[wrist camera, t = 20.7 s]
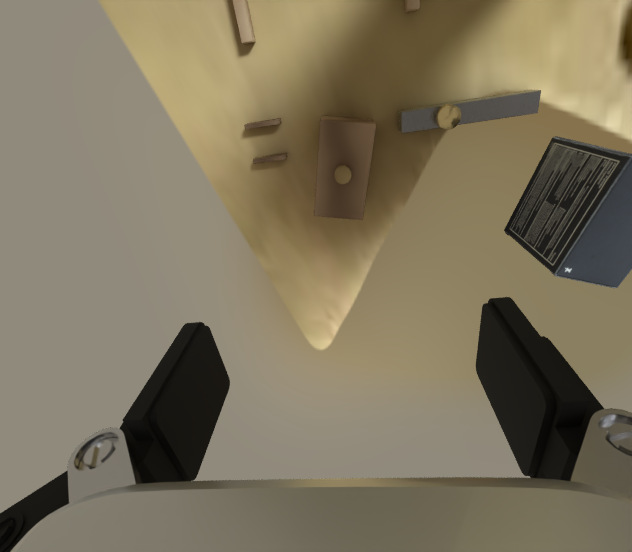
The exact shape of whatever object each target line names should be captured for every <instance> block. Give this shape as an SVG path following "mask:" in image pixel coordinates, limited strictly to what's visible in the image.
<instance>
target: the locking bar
mask: <svg viewBox="0 0 632 552" xmlns="http://www.w3.org/2000/svg"><path fill="white" fill-rule="evenodd" d="M540 94H541V90H526V91H520V92H513V93H507V94H501V95H494V96H488V97H482V98H475V99H469V100H463V101H457V102H450V103H444V104H438V105H431V106H425V107H419V108H412V109H406V110H400V111H398V112H399V131H400V132H401V133H407V132H413V131H420V130H427V129H433V128H440V127H441V128H443V129H446V130H449V129H452V128H454V127H456V126H457V125H460V124H467V123H474V122H480V121H487V120H494V119H500V118H507V117H514V116H521V115H527V114H533V113H538V107H539V100H540Z"/></svg>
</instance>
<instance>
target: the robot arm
mask: <svg viewBox="0 0 632 552" xmlns="http://www.w3.org/2000/svg"><path fill="white" fill-rule="evenodd" d="M476 371H477V374H478V377H479V379H480V381H481V384H482V385H483V388H484V390H485V392H486V395H487V397H488V399H489V401H490V403H491V406H492V408H493V410H494V412H495V414H496V416H497V419H498V421H499V423H500V425H501V428H502V430H503V432H504V434H505V436H506V439H507V441H508V443H509V445H510V447H511V450H512V452H513V454H514V456H515V458H516V461H517V463H518V465H519V467H520V469H521V471H522V473H523V474H524V475H525V476H530V477H531V478H492V477H437V478H436V477H435V478H347V479H346V478H341V479H272V480H222V481H193V480H194V479H195V478H196V476H197V474H198V472H199V469H200V466H201V463H202V461H203V458H204V455H205V453H206V450H207V447H208V444H209V442H210V439H211V436H212V434H213V431H214V428H215V425H216V422H217V420H218V417H219V415H220V412H221V409H222V406H223V403H224V401H225V398H226V395H227V393H228V390H229V386H230V380H229V377H228V374H227V371H226V369H225V366H224V364H223V361H222V359H221V356H220V354H219V351H218V349H217V346H216V343H215V341H214V338H213V336H212V333H211V330H210V328H209V327H208V326H205V325H204V323H202V322H199V323H198V322H197V323H187V324H185V325H184V326H183V327H182V329H181V331H180V332H179V334H178V335H177V337H176V338H175V340H174V341H173V343H172V344H171V346H170V348H169V349H168V351H167V352H166V354H165V355H164V357H163V358H162V360H161V361H160V363H159V365H158V366H157V368H156V369H155V371H154V372H153V374H152V375H151V377H150V379H149V380H148V382H147V383H146V385H145V386H144V388H143V389H142V391H141V393H140V394H139V396H138V397H137V399H136V400H135V402H134V403H133V405H132V406H131V408H130V409H129V411H128V413H127V414H126V416H125V417H124V419H123V424H122V425H121V427H120V429H118V428H111V427H110V428H106V429H102V430H100V431H98V432H96V433H94V434H92V435H91V436H89V437H88V438H86V439H85V440H84V441H83V442H82V443H81V444H80V445H79V446H78V447H77V448H76V449H75V451H74V452H73V453H72V455H71V457H70V459H69V461H68V467H67V468H68V471H66V472H65V473H63V474H62V475H60V476H58V477H57V478H55V479H54V480H52V481H50V482H49V483H47V484H46V485H44V486H43V487H41V488H39V489H38V490H36V491H35V492H33V493H32V494H30V495H29V496H27V497H25V498H24V499H22V500H21V501H19V502H18V503H16V504H14V505H13V506H11V507H10V508H8V509H7V510H5V511H4V512H2V513H0V552H632V413H631V412H628V411H625V410H619V409H612V408H611V409H604V408H603V407H602V405H601V404H600V403H599V402H598V400H597V399H596V398H595V397H594V395H593V394H592V393H591V392H590V390H589V389H588V388H587V386H586V385H585V384H584V383H583V381H582V380H581V379H580V378H579V376H578V375H577V374H576V373H575V371H574V370H573V369H572V368H571V366H570V365H569V364H568V362H567V361H566V360H565V359H564V357H563V356H562V355H561V354H560V352H559V351H558V350H557V349H556V347H555V346H554V345H553V344H552V342H551V341H550V340H549V339H548V338H546V337H544V336H543V337H541V336H540V335H539V334H538V332H537V331H536V330H535V328H534V327H533V326H532V325H531V323H530V322H529V321H528V319H527V318H526V317H525V315H524V314H523V313H522V312H521V310H520V309H519V308H518V307H517V305H516V304H515V302H514V301H513V300H512V299H511V298H509V297H505V298H492V299H489V301H488V303H486V304H484V305H483V307H482V315H481V324H480V332H479V342H478V351H477V359H476Z"/></svg>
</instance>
